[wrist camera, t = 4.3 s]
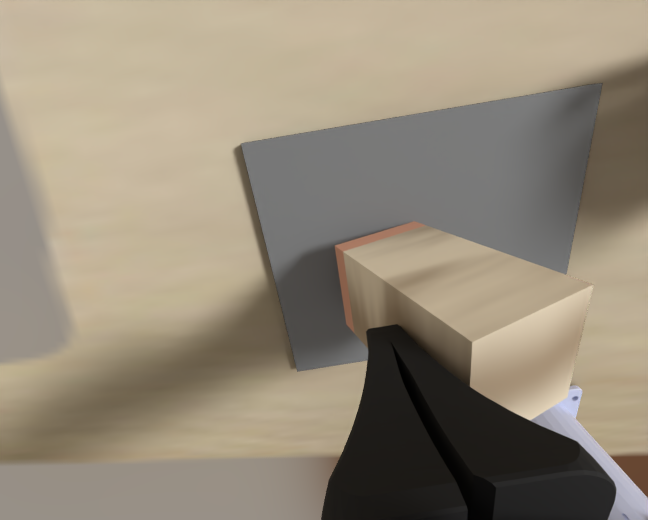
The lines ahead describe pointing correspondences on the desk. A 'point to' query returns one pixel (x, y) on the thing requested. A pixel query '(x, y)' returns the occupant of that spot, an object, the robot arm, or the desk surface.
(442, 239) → the block
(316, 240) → the mat
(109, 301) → the desk surface
